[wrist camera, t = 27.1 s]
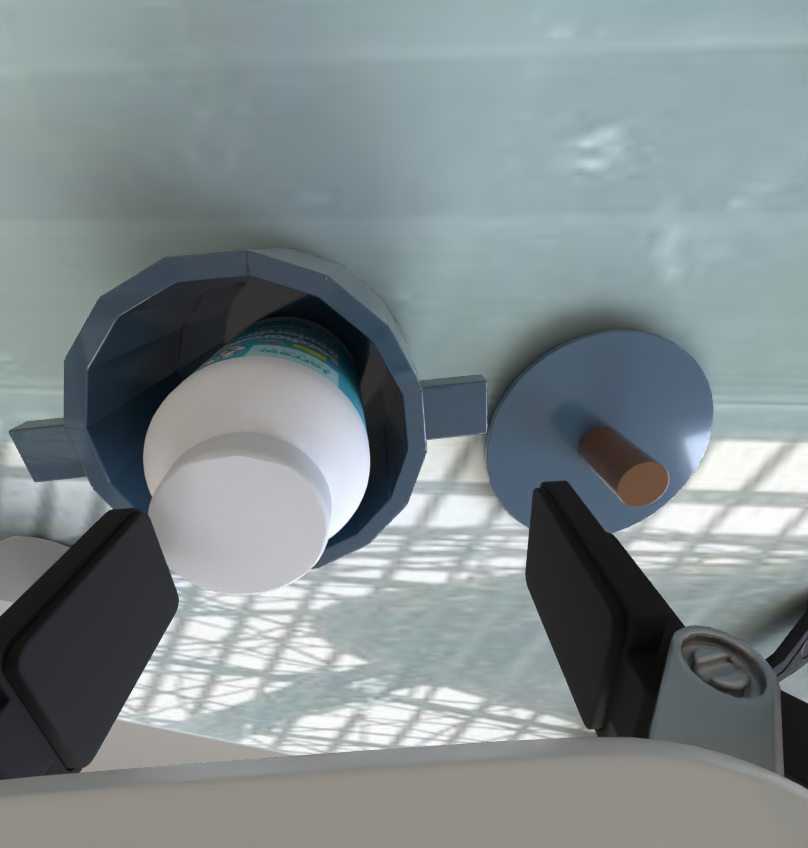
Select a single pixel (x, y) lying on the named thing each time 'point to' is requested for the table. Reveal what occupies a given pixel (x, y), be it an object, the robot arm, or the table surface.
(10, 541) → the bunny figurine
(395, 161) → the table surface
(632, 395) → the lid
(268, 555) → the pill bottle
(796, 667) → the hairbrush
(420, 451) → the canister
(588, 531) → the robot arm
